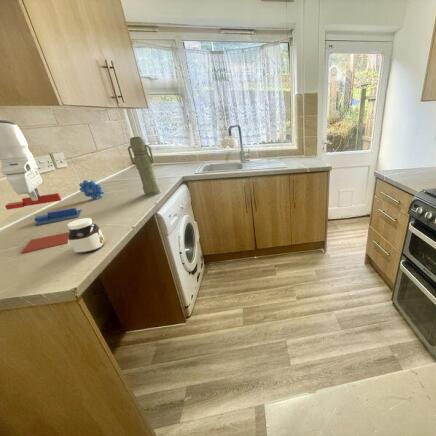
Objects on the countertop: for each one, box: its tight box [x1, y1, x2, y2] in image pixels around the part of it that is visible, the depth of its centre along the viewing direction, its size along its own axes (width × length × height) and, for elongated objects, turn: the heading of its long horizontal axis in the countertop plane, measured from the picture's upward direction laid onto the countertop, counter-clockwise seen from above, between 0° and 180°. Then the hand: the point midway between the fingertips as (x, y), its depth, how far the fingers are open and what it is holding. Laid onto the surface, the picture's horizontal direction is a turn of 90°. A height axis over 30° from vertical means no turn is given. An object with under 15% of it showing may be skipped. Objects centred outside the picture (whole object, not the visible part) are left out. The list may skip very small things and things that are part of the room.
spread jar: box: [67, 217, 105, 255], centre depth 91 cm, size 12×11×12 cm
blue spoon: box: [34, 207, 78, 223], centre depth 122 cm, size 16×4×3 cm, turn 122°
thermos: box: [127, 136, 161, 197], centre depth 147 cm, size 9×12×35 cm
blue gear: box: [78, 179, 105, 200], centre depth 147 cm, size 12×7×12 cm, turn 108°
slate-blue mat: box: [34, 209, 83, 226], centre depth 123 cm, size 16×12×1 cm
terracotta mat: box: [20, 231, 69, 255], centre depth 100 cm, size 16×12×1 cm
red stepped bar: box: [4, 192, 62, 210], centre depth 98 cm, size 16×4×3 cm, turn 123°
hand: (36, 199), depth 99 cm, fingers closed on red stepped bar
